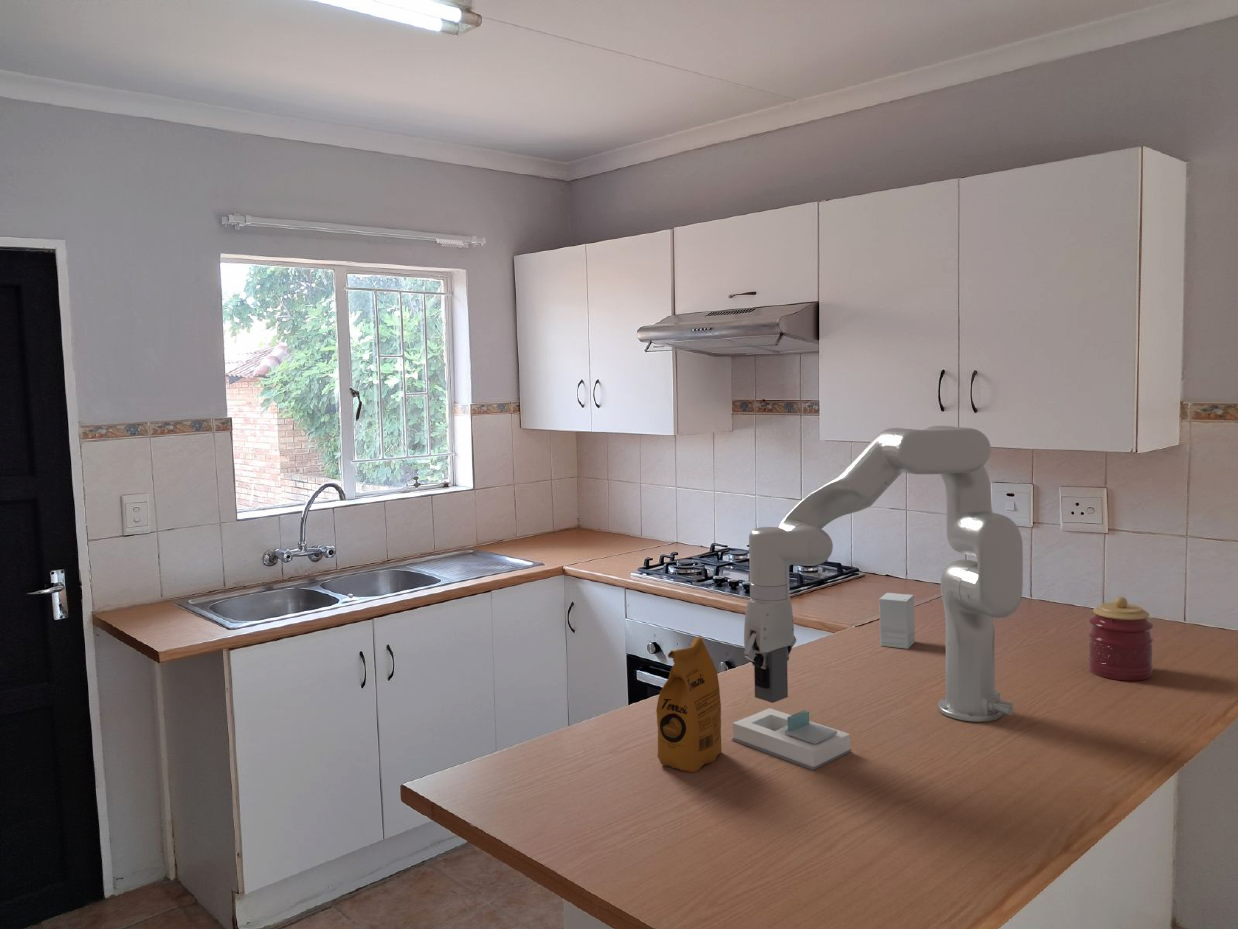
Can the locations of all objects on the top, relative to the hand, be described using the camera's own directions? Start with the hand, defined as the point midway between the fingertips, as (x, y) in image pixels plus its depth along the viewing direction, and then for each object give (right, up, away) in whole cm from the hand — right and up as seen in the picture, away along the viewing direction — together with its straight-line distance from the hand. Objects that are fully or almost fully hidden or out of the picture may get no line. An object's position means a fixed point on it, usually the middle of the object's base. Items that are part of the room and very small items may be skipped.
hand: (771, 682), depth 178 cm
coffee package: (-16, -13, -6) cm, 22 cm away
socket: (+3, -12, -2) cm, 12 cm away
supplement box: (+43, -4, +60) cm, 74 cm away
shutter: (+6, -8, -6) cm, 12 cm away
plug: (0, -3, 0) cm, 3 cm away
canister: (+85, -5, +32) cm, 91 cm away
